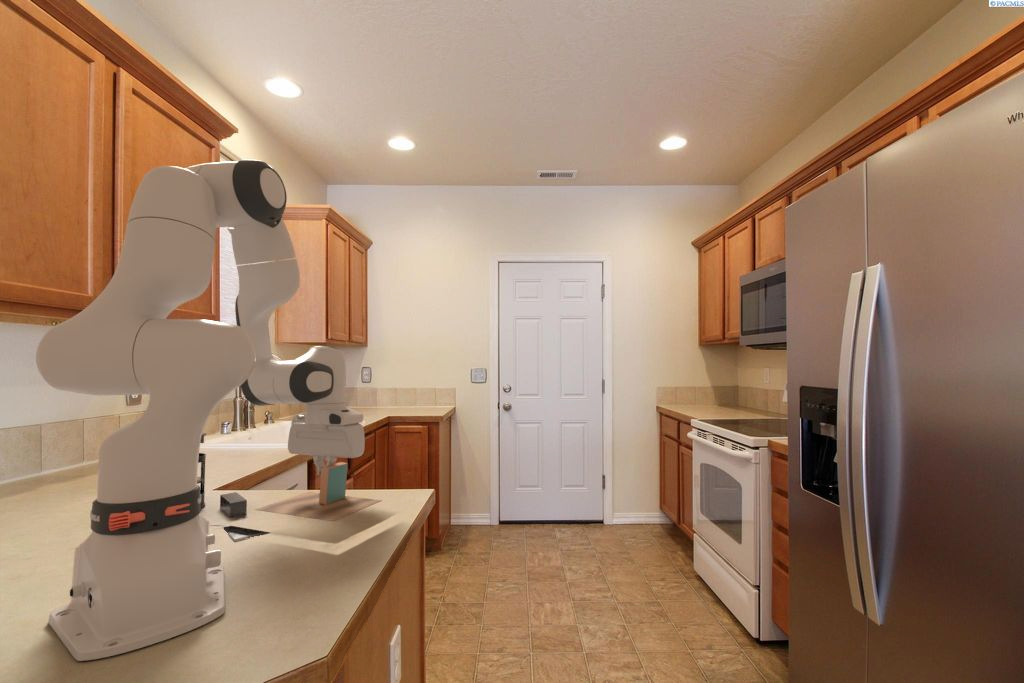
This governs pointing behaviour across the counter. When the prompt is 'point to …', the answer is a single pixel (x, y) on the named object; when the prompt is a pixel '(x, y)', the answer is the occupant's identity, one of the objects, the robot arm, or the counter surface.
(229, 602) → the counter surface
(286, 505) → the board
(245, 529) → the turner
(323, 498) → the tile
